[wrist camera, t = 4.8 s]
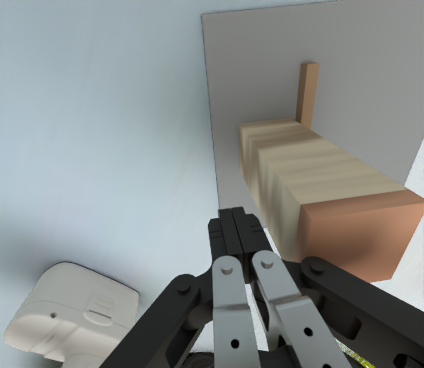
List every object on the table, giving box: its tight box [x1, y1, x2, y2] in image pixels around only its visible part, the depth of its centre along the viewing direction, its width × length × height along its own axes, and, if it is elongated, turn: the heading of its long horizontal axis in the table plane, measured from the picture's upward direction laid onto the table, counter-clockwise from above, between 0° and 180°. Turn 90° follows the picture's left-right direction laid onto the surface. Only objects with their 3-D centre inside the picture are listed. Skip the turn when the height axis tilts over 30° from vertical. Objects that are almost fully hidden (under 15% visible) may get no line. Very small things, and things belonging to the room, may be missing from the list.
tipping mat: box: [201, 0, 424, 228], centre depth 23 cm, size 22×22×2 cm
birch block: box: [239, 118, 424, 283], centre depth 16 cm, size 5×5×14 cm
